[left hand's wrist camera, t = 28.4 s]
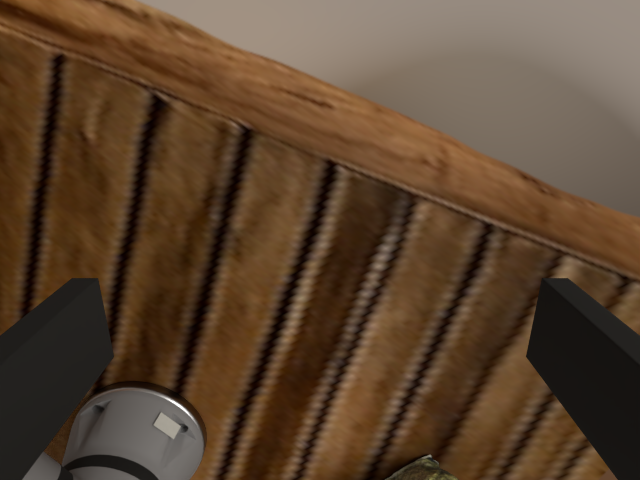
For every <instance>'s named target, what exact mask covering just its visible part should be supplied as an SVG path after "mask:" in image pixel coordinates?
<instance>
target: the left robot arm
mask: <svg viewBox="0 0 640 480" xmlns="http://www.w3.org/2000/svg"><path fill="white" fill-rule="evenodd" d="M113 357H114V355H113V350H112V345H111V340H110V335H109V330H108V325H107V320H106V315H105V311H104V306H103V301H102V296H101V291H100V286H99V281H98V278H72V279H71V280H69V281H68V282H67V283H66V284H64V285H63V286H62V287H61V288H59V289H58V290H57V291H56V292H54V293H53V294H52V295H51V296H49V297H48V298H47V299H46V300H44V301H43V302H42V303H41V304H39V305H38V306H37V307H36V308H34V309H33V310H32V311H31V312H29V313H28V314H27V315H26V316H24V317H23V318H22V319H21V320H19V321H18V322H17V323H16V324H14V325H13V326H12V327H11V328H9V329H8V330H7V331H6V332H4V333H3V334H2V335H1V336H0V480H190V478H191V477H192V476H193V474H194V473H195V471H196V470H197V468H198V466H199V464H200V462H201V460H202V457H203V453H204V450H205V447H206V442H207V434H206V428H205V425H204V422H203V420H202V418H201V416H200V415H199V413H198V412H197V410H196V409H195V408H194V407H193V406H192V405H191V404H190V403H189V402H188V401H187V400H186V399H184V398H183V397H182V396H180V395H179V394H177V393H175V392H173V391H172V390H169V389H167V388H165V387H162V386H159V385H155V384H151V383H146V382H122V383H117V384H113V385H110V386H107V387H105V388H103V389H101V390H99V391H97V392H96V393H95V394H93V395H92V396H91V397H90V398H89V399H88V400H87V402H86V403H85V404H84V406H83V407H82V408H81V410H80V411H79V413H78V414H77V416H76V418H75V421H74V423H73V425H72V428H71V432H70V436H69V440H68V443H67V447H66V451H65V455H64V458H63V462H62V466H61V465H60V464H59V463H58V462H57V461H55V460H54V459H53V458H51V457H50V456H49V455H47V454H46V453H45V452H43V451H44V450H45V448H46V447H47V446H48V444H49V443H50V442H51V440H52V439H53V438H54V436H55V435H56V434H57V432H58V431H59V430H60V428H61V427H62V426H63V424H64V423H65V422H66V420H67V419H68V418H69V416H70V415H71V414H72V412H73V411H74V409H75V408H76V407H77V405H78V404H79V403H80V401H81V400H82V399H83V397H84V396H85V395H86V393H87V392H88V391H89V389H90V388H91V387H92V385H93V384H94V383H95V381H96V380H97V379H98V377H99V376H100V375H101V373H102V372H103V371H104V369H105V368H106V367H107V365H108V364H109V363H110V361H111V360H112V359H113ZM526 357H527V359H528V360H529V361H530V363H531V364H532V365H533V367H534V368H535V369H536V371H537V372H538V373H539V375H540V376H541V377H542V379H543V380H544V381H545V383H546V384H547V385H548V387H549V388H550V389H551V391H552V392H553V393H554V395H555V396H556V397H557V399H558V400H559V401H560V403H561V404H562V405H563V407H564V408H565V409H566V411H567V412H568V414H569V415H570V416H571V418H572V419H573V420H574V422H575V423H576V424H577V426H578V427H579V428H580V430H581V431H582V432H583V434H584V435H585V436H586V438H587V439H588V440H589V442H590V443H591V444H592V446H593V447H594V448H595V450H596V451H597V452H598V454H599V455H600V456H601V458H602V459H603V460H604V462H605V463H606V464H607V466H608V467H609V469H610V470H611V471H612V473H613V474H614V475H615V477H616V478H617V479H618V480H640V336H639V335H638V334H637V333H636V332H634V331H633V330H632V329H631V328H629V327H628V326H627V325H626V324H624V323H623V322H622V321H621V320H619V319H618V318H617V317H616V316H614V315H613V314H612V313H611V312H609V311H608V310H607V309H606V308H604V307H603V306H602V305H601V304H599V303H598V302H597V301H596V300H594V299H593V298H592V297H591V296H589V295H588V294H587V293H586V292H584V291H583V290H582V289H581V288H579V287H578V286H577V285H576V284H574V283H573V282H572V281H571V280H569V279H568V278H542V281H541V286H540V291H539V296H538V301H537V306H536V311H535V315H534V320H533V325H532V330H531V335H530V340H529V345H528V350H527V355H526Z"/></svg>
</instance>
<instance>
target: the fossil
mask: <svg viewBox="0 0 640 480" xmlns="http://www.w3.org/2000/svg"><path fill="white" fill-rule="evenodd" d="M385 480H459V479H457V478H456V477H455V476H453V475H452V474H450V473H449V472H447V471H445V470H442V469H440V468H439V464H438V462H437V461H435V460H433V459H432V457H431V455H428V456H425V457H422V458H420V459H417V460H416V461H415V462H413V463H411V464H409V465H407V466H405V467H403V468H402V469H400V470H399V471H397V472H395V473H394V474H393V475H392V476H391V477H389V478H387V479H385Z"/></svg>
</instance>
